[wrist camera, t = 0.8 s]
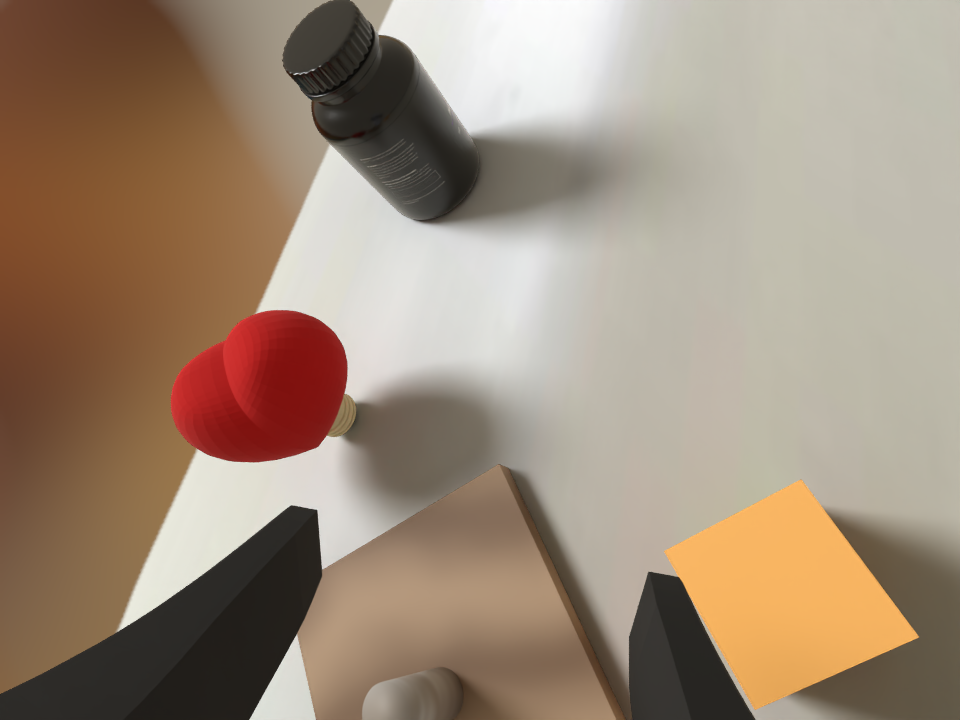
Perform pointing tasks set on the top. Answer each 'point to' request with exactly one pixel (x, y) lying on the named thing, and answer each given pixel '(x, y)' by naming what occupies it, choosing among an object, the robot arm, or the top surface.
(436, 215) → the supplement bottle
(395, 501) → the top surface
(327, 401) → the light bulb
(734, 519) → the orange wooden cube
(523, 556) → the post board
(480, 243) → the top surface
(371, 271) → the top surface
